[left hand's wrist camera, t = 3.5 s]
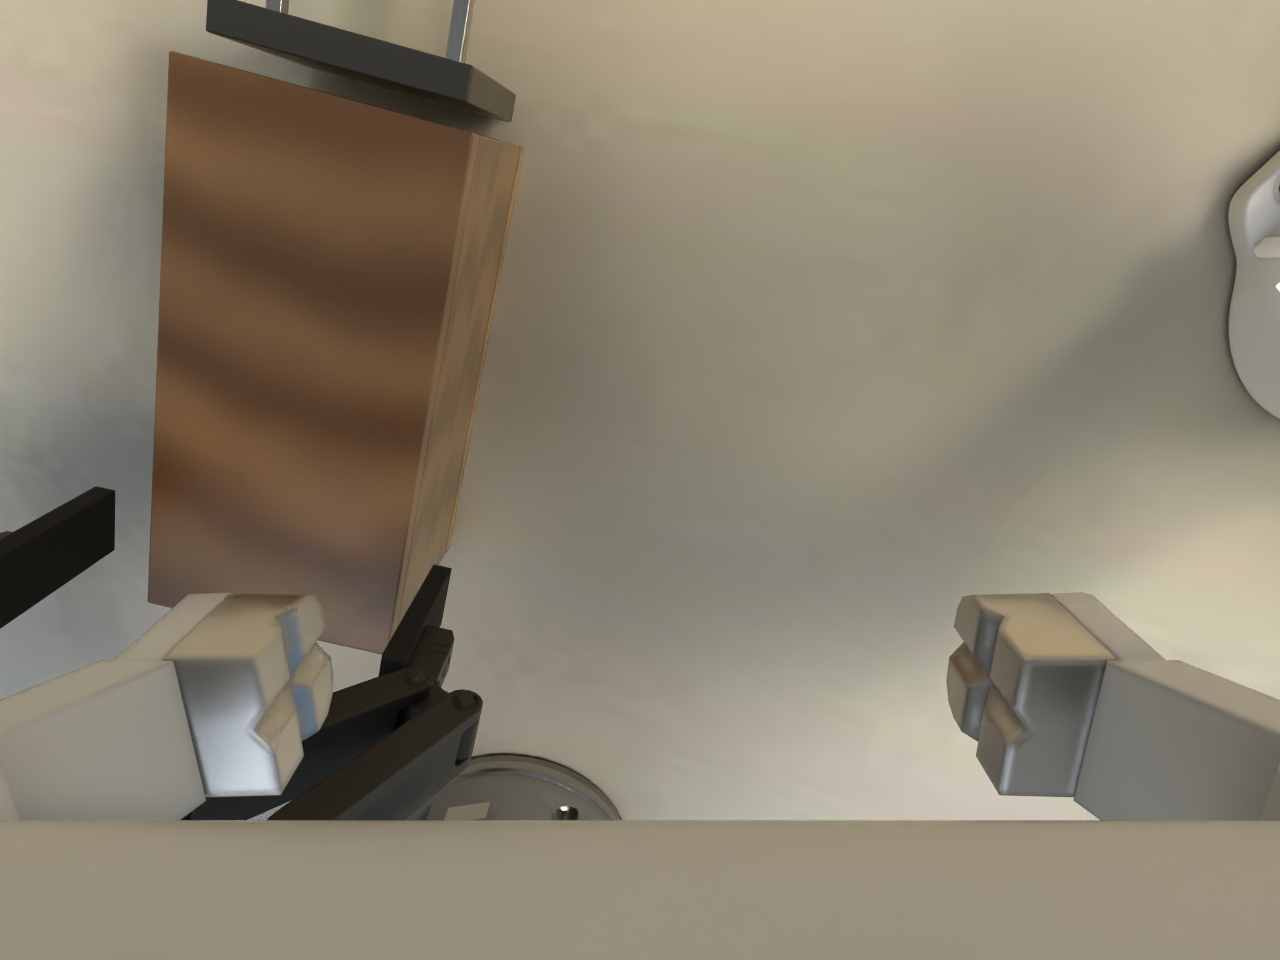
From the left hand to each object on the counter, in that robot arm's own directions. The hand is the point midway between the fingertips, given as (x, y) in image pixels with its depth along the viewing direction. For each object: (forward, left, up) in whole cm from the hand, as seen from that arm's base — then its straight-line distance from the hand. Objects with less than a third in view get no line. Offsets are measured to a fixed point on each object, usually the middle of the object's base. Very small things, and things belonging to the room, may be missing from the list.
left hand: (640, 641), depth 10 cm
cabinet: (+9, -11, -32) cm, 35 cm away
